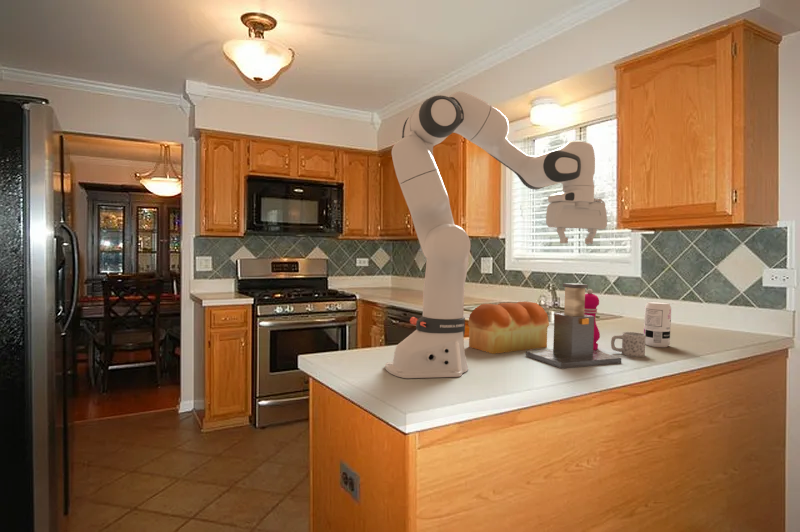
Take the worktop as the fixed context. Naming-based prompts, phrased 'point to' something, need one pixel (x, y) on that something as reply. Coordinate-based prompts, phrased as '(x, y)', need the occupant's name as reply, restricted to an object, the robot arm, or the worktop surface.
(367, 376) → the worktop surface
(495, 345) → the bread
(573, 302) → the column
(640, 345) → the mug
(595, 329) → the pink tall rounded piece
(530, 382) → the worktop surface
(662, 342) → the supplement can
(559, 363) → the stand
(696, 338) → the worktop surface
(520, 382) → the worktop surface
